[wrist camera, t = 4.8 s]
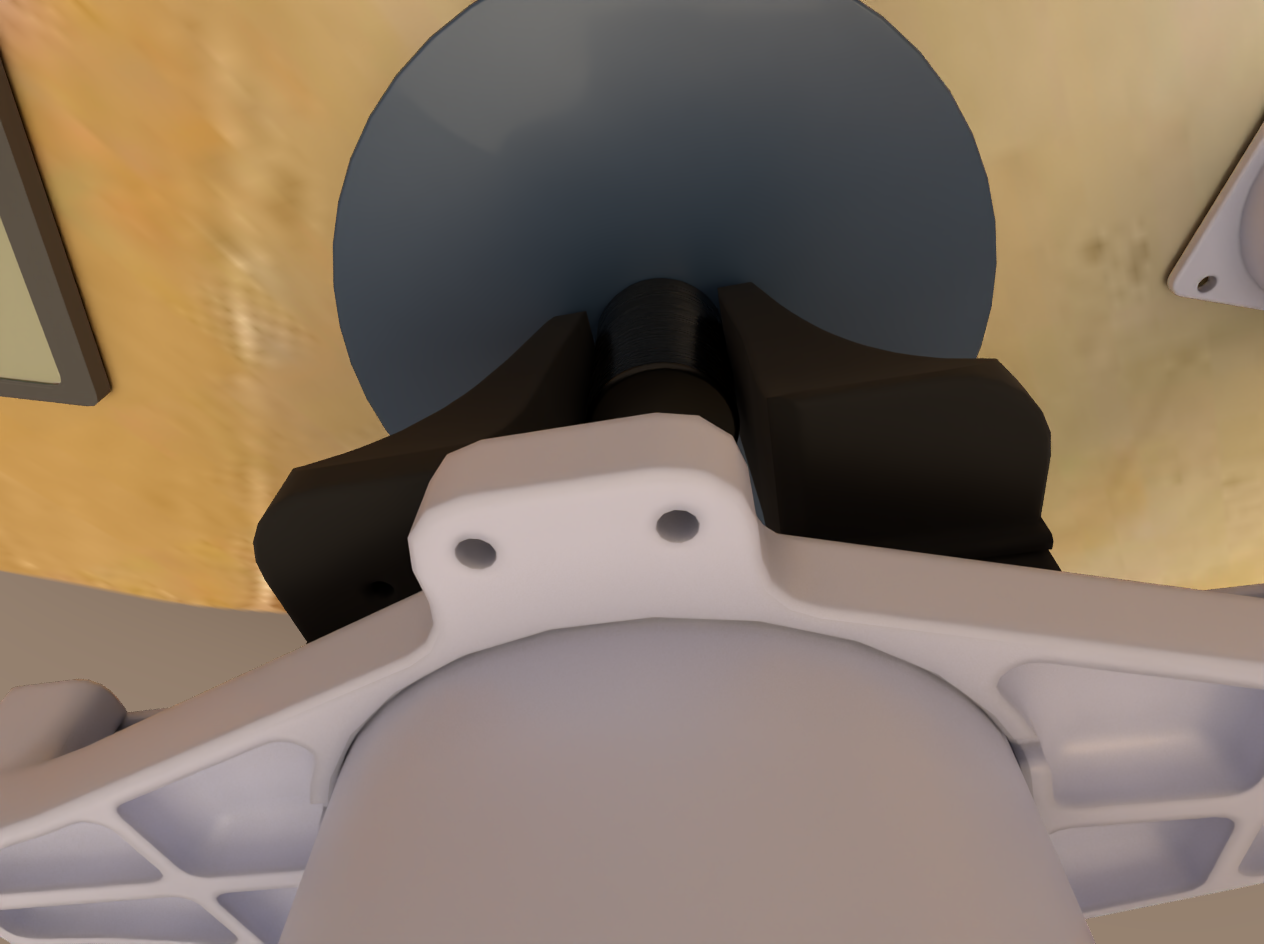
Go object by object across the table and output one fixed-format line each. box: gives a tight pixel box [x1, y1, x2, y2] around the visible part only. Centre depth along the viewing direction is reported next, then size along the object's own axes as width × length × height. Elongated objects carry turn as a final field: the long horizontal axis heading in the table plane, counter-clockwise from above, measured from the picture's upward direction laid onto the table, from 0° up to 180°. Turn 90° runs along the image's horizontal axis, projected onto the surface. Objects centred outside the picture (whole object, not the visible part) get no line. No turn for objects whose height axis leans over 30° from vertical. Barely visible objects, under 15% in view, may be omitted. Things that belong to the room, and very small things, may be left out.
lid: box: [333, 0, 996, 526], centre depth 13 cm, size 12×12×4 cm
